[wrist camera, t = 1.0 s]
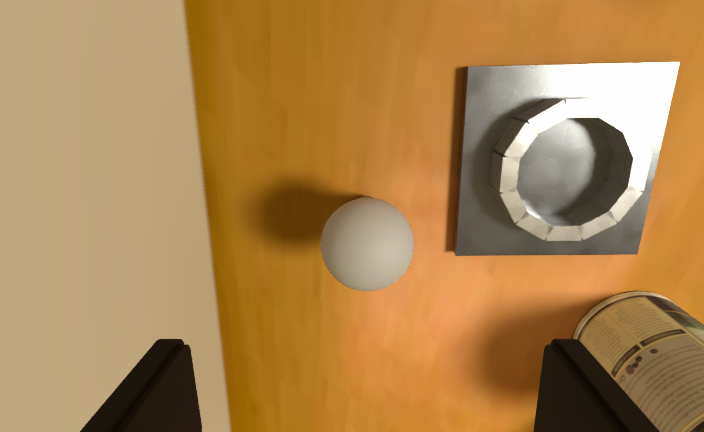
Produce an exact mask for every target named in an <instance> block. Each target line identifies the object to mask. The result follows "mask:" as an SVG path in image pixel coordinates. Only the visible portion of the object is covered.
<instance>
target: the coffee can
mask: <svg viewBox="0 0 704 432" xmlns="http://www.w3.org/2000/svg"><path fill="white" fill-rule="evenodd" d="M573 339H578V340H579V341H581V343H582V344H583V345H584V346H585V347H586V348H587V349H588V350H589V352H590V353H591V354H592V355H593V356H594V357H595V358H596V360H597V361H598V362H599V363H600V364H601V365H602V366H603V367H604V369H605V370H606V371H607V372H608V373H609V374H610V375H611V377H612V378H613V379H614V380H615V381H616V382H617V383H618V385H619V386H620V387H621V388H622V389H623V390H624V391H625V392H626V394H627V395H628V396H629V397H630V398H631V399H632V400H633V402H634V403H635V404H636V405H637V406H638V407H639V408H640V409H641V411H642V412H643V413H644V414H645V415H646V416H647V417H648V419H649V420H650V421H651V422H652V423H653V424H654V425H655V427H656V428H657V429H658V430H659V431H660V432H704V325H703V324H701V323H700V322H699V321H697V320H696V319H694V318H693V317H692V316H690V315H689V314H688V313H686V312H685V311H683V310H682V309H681V308H679V307H678V306H677V305H676V304H675V303H674V302H673V301H671V300H670V299H668V298H667V297H664V296H662V295H659V294H656V293H652V292H645V291H632V292H626V293H622V294H618V295H615V296H613V297H610V298H608V299H606V300H604V301H602V302H600V303H599V304H597V305H596V306H594V307H593V308H592V309H591V310H590V311H589V312H588V313H587V314H586V315H585V316H584V317H583V318H582V320H581V321H580V323H579V324H578V326H577V328H576V330H575V333H574V336H573Z"/></svg>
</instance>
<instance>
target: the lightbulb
mask: <svg viewBox="0 0 704 432" xmlns="http://www.w3.org/2000/svg"><path fill="white" fill-rule="evenodd" d="M321 252H322V256H323V260H324V262H325V265H326V267H327V269H328V270H329V271H330V273H331V274H332V275H333V277H335V278H336V279H337V280H338V281H339V282H340V283H342V284H343V285H345V286H347V287H349V288H352V289H354V290H359V291H376V290H380V289H383V288H386V287H388V286H390V285H392V284H394V283H395V282H396V281H397V280H399V279H400V278H401V276H402V275H403V274H404V273H405V272H406V270H407V268H408V267H409V265H410V263H411V260H412V256H413V252H414V237H413V233H412V230H411V227H410V224H409V222H408V221H407V219H406V218H405V216H404V215H403V214H402V213H401V212H400V211H399V210H398V209H397V208H395V207H394V206H392V205H391V204H389V203H387V202H385V201H383V200H379V199H375V198H373V197H369V196H364V197H360V198H358V199H355V200H352V201H350V202H347V203H346V204H344V205H342V206H341V207H339V208H338V209H337V210H336V211H335V212H334V213H332V215H331V216H330V217H329V219H328V220H327V222H326V224H325V226H324V228H323V232H322V237H321Z"/></svg>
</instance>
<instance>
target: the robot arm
mask: <svg viewBox="0 0 704 432" xmlns="http://www.w3.org/2000/svg"><path fill="white" fill-rule="evenodd" d="M80 432H202V425H201V417H200V410H199V404H198V397H197V390H196V384H195V377H194V370H193V363H192V356H191V350H190V347H189V345H184V342H183V340H181V339H159V340H157V341H156V342H155V343H154V345H153V346H152V347H151V348H150V349H149V350H148V352H147V353H146V354H145V355H144V356H143V358H142V359H141V360H140V361H139V362H138V363H137V365H136V366H135V367H134V368H133V369H132V371H131V372H130V373H129V374H128V375H127V377H126V378H125V379H124V380H123V381H122V383H121V384H120V385H119V386H118V388H116V390H115V391H114V392H113V393H112V394H111V396H110V397H109V398H108V399H107V400H106V401H105V403H104V404H103V405H102V406H101V407H100V409H99V410H98V411H97V412H96V413H95V414H94V416H93V417H92V418H91V419H90V420H89V421H88V423H87V424H86V425H85V426H84V427H83V429H82V430H81V431H80ZM534 432H660V431H659V430H658V429H657V428H656V427H655V425H654V424H653V423H652V422H651V421H650V420H649V419H648V417H647V416H646V415H645V414H644V413H643V412H642V411H641V409H640V408H639V407H638V406H637V405H636V404H635V403H634V402H633V400H632V399H631V398H630V397H629V396H628V395H627V394H626V392H625V391H624V390H623V389H622V388H621V387H620V386H619V385H618V383H617V382H616V381H615V380H614V379H613V378H612V377H611V375H610V374H609V373H608V372H607V371H606V370H605V369H604V367H603V366H602V365H601V364H600V363H599V362H598V361H597V360H596V358H595V357H594V356H593V355H592V354H591V353H590V352H589V350H588V349H587V348H586V347H585V346H584V345H583V344H582V343H581V341H579V340H578V339H554V340H553V341H552V342H551V345H546V346H545V349H544V356H543V363H542V371H541V379H540V386H539V394H538V402H537V409H536V417H535V425H534Z"/></svg>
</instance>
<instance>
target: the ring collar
mask: <svg viewBox="0 0 704 432" xmlns="http://www.w3.org/2000/svg"><path fill="white" fill-rule="evenodd" d="M679 63H680V62H661V63H615V64H568V65H522V66H476V67H465V77H464V92H463V108H462V124H461V139H460V155H459V170H458V186H457V202H456V217H455V233H454V249H453V251H454V253H455V255H456V256H482V255H614V254H637V253H638V249H639V244H640V240H641V235H642V231H643V226H644V222H645V217H646V212H647V208H648V203H649V199H650V194H651V190H652V185H653V181H654V176H655V172H656V167H657V163H658V158H659V153H660V149H661V144H662V140H663V135H664V131H665V126H666V122H667V117H668V113H669V108H670V103H671V99H672V94H673V90H674V85H675V81H676V76H677V72H678V67H679Z"/></svg>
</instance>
